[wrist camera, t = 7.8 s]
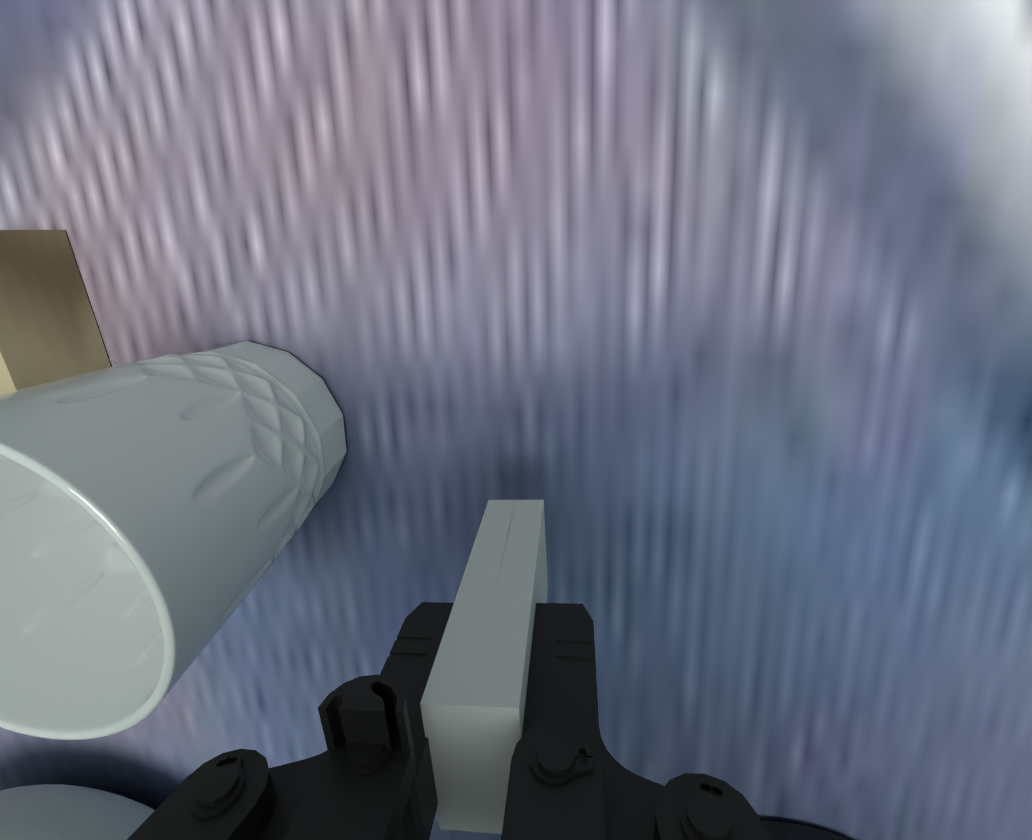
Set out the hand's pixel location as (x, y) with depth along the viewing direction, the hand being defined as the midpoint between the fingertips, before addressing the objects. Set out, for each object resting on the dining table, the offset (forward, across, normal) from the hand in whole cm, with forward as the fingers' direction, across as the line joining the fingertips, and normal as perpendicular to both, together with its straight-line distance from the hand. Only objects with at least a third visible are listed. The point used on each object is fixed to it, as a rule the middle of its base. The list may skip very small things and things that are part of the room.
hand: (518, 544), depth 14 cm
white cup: (+6, +10, -2) cm, 12 cm away
